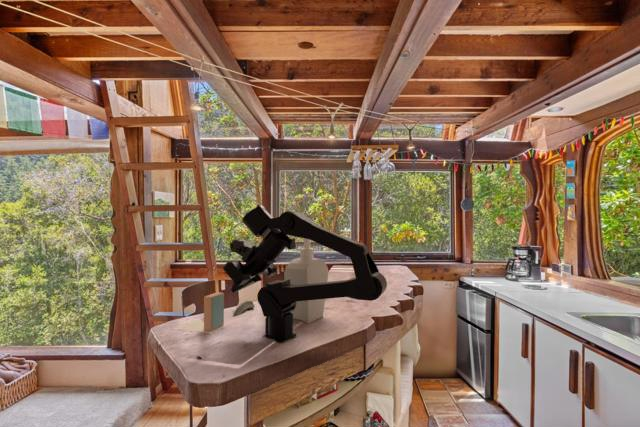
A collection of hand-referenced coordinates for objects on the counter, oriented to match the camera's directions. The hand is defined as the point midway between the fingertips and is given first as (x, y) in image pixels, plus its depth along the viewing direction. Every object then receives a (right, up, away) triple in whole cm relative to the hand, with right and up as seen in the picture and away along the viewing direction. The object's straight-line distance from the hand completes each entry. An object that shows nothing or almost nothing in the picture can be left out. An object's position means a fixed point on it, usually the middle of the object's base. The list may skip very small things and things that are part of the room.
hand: (232, 291), depth 100 cm
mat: (-9, -11, +3) cm, 15 cm away
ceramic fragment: (-2, -12, +20) cm, 23 cm away
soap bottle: (+18, -11, +14) cm, 26 cm away
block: (-6, -10, +2) cm, 12 cm away
